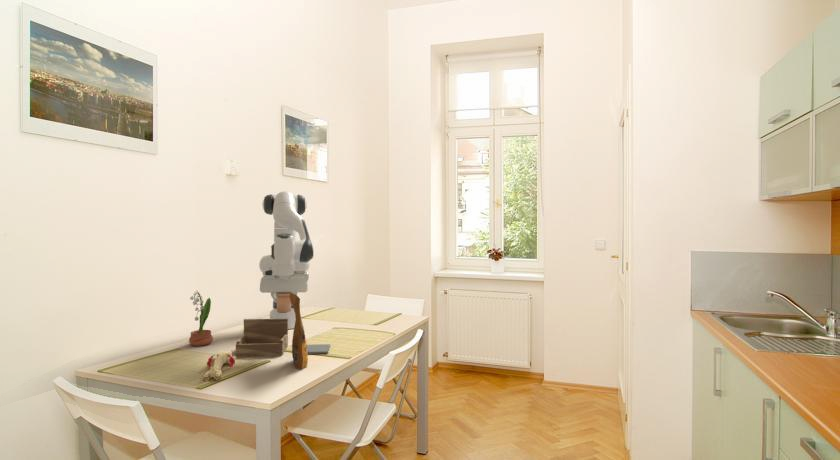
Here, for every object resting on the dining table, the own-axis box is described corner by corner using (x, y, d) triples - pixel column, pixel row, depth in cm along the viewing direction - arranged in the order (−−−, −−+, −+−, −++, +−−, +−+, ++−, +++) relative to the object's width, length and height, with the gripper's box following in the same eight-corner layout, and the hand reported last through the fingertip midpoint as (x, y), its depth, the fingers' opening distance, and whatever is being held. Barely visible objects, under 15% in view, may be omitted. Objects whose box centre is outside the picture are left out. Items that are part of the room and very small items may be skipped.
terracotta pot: (277, 309, 208) (277, 291, 207) (293, 309, 208) (293, 291, 208) (274, 312, 201) (274, 293, 201) (290, 312, 201) (290, 293, 201)
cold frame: (244, 347, 210) (244, 319, 210) (287, 346, 212) (288, 318, 212) (235, 356, 196) (235, 326, 196) (282, 355, 198) (282, 325, 198)
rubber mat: (305, 346, 212) (305, 344, 212) (330, 346, 213) (330, 344, 213) (301, 354, 200) (301, 352, 200) (328, 353, 201) (328, 351, 201)
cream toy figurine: (226, 383, 167) (239, 358, 192) (226, 360, 166) (239, 337, 191) (196, 385, 165) (213, 359, 190) (196, 361, 164) (212, 338, 189)
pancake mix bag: (290, 371, 177) (290, 297, 177) (289, 357, 195) (289, 290, 195) (308, 370, 179) (309, 296, 179) (305, 356, 197) (305, 290, 197)
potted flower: (201, 348, 208) (201, 292, 207) (181, 347, 209) (181, 291, 209) (217, 342, 219) (217, 288, 219) (198, 340, 221) (198, 288, 221)
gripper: (309, 270, 208) (309, 301, 209) (262, 270, 207) (262, 301, 207) (307, 271, 202) (307, 303, 202) (258, 271, 200) (258, 304, 200)
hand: (284, 302), depth 205 cm, fingers closed on terracotta pot, 6 cm apart
